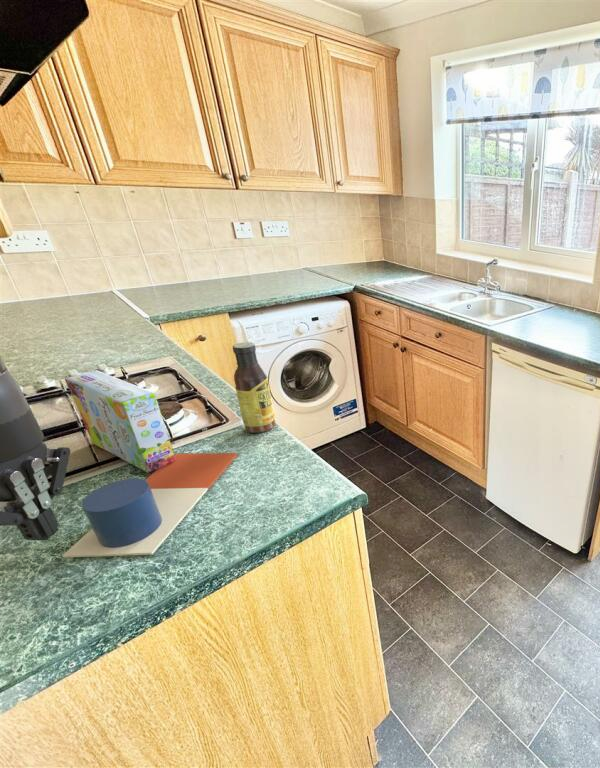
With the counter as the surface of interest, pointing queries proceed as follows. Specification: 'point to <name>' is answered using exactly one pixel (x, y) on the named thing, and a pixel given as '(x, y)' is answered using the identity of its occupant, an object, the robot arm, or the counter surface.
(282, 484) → the counter surface
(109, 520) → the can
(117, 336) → the counter surface
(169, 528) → the mat
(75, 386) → the snack box
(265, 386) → the sauce bottle
